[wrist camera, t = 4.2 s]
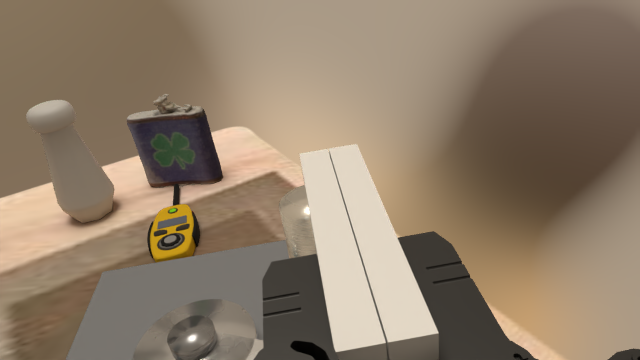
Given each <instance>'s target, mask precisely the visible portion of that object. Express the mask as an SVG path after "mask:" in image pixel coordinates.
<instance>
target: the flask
mask: <svg viewBox="0 0 640 360" xmlns="http://www.w3.org/2000/svg"><path fill="white" fill-rule="evenodd" d="M167 96H169V95H168V94H165V95H163V97H161V96H159V98H158V99H157V100H156V101H153V103H154V105H158V110H153V111H146V112H139V113H135V114H132V115H130V116H129V117H128V118H127V125H128V127H129V129H130V131H131V133H132V136H133V139H134V141H135V144H136V147H137V149H138V153H139V156H140V159H141V161H142V164H143V167H144V170H145V173H146V176H147V179H148V182H149V184H150V185H151V186H154V187H164V186H174V185H175V184H179V186H184V185H187V184H192V185H194V184H205V183H206V184H213V183H216V182H218V181H221V179H222V178H223V175H222V170H221V166H220V162H219V158H218V155H217V153H216V149H215V146H214V142H213V139H212V135H211V132H210V128H209V124H208V121H207V117H206V114H205V111H204V109H203V108H201V107H199V106H197V107H192V106H191V105H184V106H187V107H181V106H176V104H174V103H173V102H169V103H168V102H167V98H166V97H167Z"/></svg>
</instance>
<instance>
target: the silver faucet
mask: <svg viewBox="0 0 640 360" xmlns="http://www.w3.org/2000/svg"><path fill="white" fill-rule="evenodd" d="M279 209H280V214H281V219H282V224H283V229H284V234H285V239H286V243H287V248H288V253H289V258H295V257H301V256H306V255H312V254H316V248H315V242H314V237H313V231H312V225H311V219H310V213H309V207H308V201H307V195H306V190H305V185H303V186H300V187H297V188H295V189H293V190H291V191H290V192H288V193H287V194H286V195H285V196H284V197H283V198H282V199H281V201H280V203H279ZM261 349H263V340H259V339H258V336H257V332H256V328H255V325H254V322H253V319H252V317H251V316H250V314H249V313H248V312H247V311H246V310H245V309H244V308H243V307H241V306H240V305H238V304H236V303H234V302H231V301H227V300H221V299H207V300H200V301H195V302H192V303H188V304H186V305H183V306H181V307H179V308H176V309H174V310H173V311H171V312H169V313H167V314H166V315H164V316H163V317H162V318H160V319H159V320H158V321H157V322H155V323H154V324H153V325H152V326H151V327H150V328H149V329H148V330H147V332H146V333H145V334H144V335H143V337H142V338H141V340H140V341H139V343H138V345H137V347H136V349H135V352H134V355H133V360H254V358H255V357H256V355H257V354H258V352H259V351H260V350H261Z"/></svg>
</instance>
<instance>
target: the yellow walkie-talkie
mask: <svg viewBox="0 0 640 360" xmlns="http://www.w3.org/2000/svg"><path fill="white" fill-rule="evenodd" d="M178 203H179V184H175V185H174V196H173V206H170V207H167V208H164V209H162V210H160V211H159V213H158V214H157V216H156V218H155V220H154V222H152V223H151V225H150V228H149V231H148V247H149V251H150V254H151V256H152V258H154V260H155V263H157V262H163V261H168V260H174V259H180V258H186V257H191V256H193V253H194V251H195V247H197V246H198V243H199V236H200V231H199V225H198V222H197V219H196V216H195V214H194V212H193V211H191V209H190V208H189V206H188V205H186V204H180V205H178Z"/></svg>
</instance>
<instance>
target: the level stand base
mask: <svg viewBox="0 0 640 360" xmlns="http://www.w3.org/2000/svg"><path fill="white" fill-rule="evenodd" d="M284 259H290V258H289V253H288V248H287V243H286V240H283V241H277V242H271V243H266V244H260V245H254V246H248V247H243V248H237V249H231V250H226V251H220V252H214V253H208V254H203V255H197V256H191V257H186V258H180V259H174V260H168V261H163V262H157V263H151V264H146V265H140V266H134V267H128V268H123V269H117V270H111V271H106V272H103V273H102V275H101V278H100V280H99V282H98V285H97V287H96V289H95V292H94V294H93V296H92V299H91V301H90V303H89V306H88V308H87V311H86V313H85V315H84V318H83V320H82V322H81V325H80V327H79V329H78V332H77V334H76V337H75V339H74V341H73V344H72V346H71V348H70V351H69V353H68V355H67V358H66V360H133V355H134V352H135V349H136V347H137V345H138V343H139V341H140V340H141V338H142V337H143V335H144V334H145V333H146V332H147V330H148V329H149V328H150V327H151V326H152V325H153V324H154V323H155V322H157V321H158V320H159V319H160V318H162V317H163V316H164V315H166V314H167V313H169V312H171V311H173V310H174V309H176V308H179V307H181V306H183V305H186V304H188V303H192V302H195V301H200V300H207V299H221V300H227V301H231V302H234V303H236V304H238V305H240V306H241V307H243V308H244V309H245V310H246V311H247V312H248V313H249V314H250V316H251V317H252V319H253V322H254V325H255V328H256V332H257V336H258V339H259V340H263V295H262V279H263V277H264V275H265V273H266V271H267V269H268V268H269V266H270V264H271V262H273V261H278V260H284Z"/></svg>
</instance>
